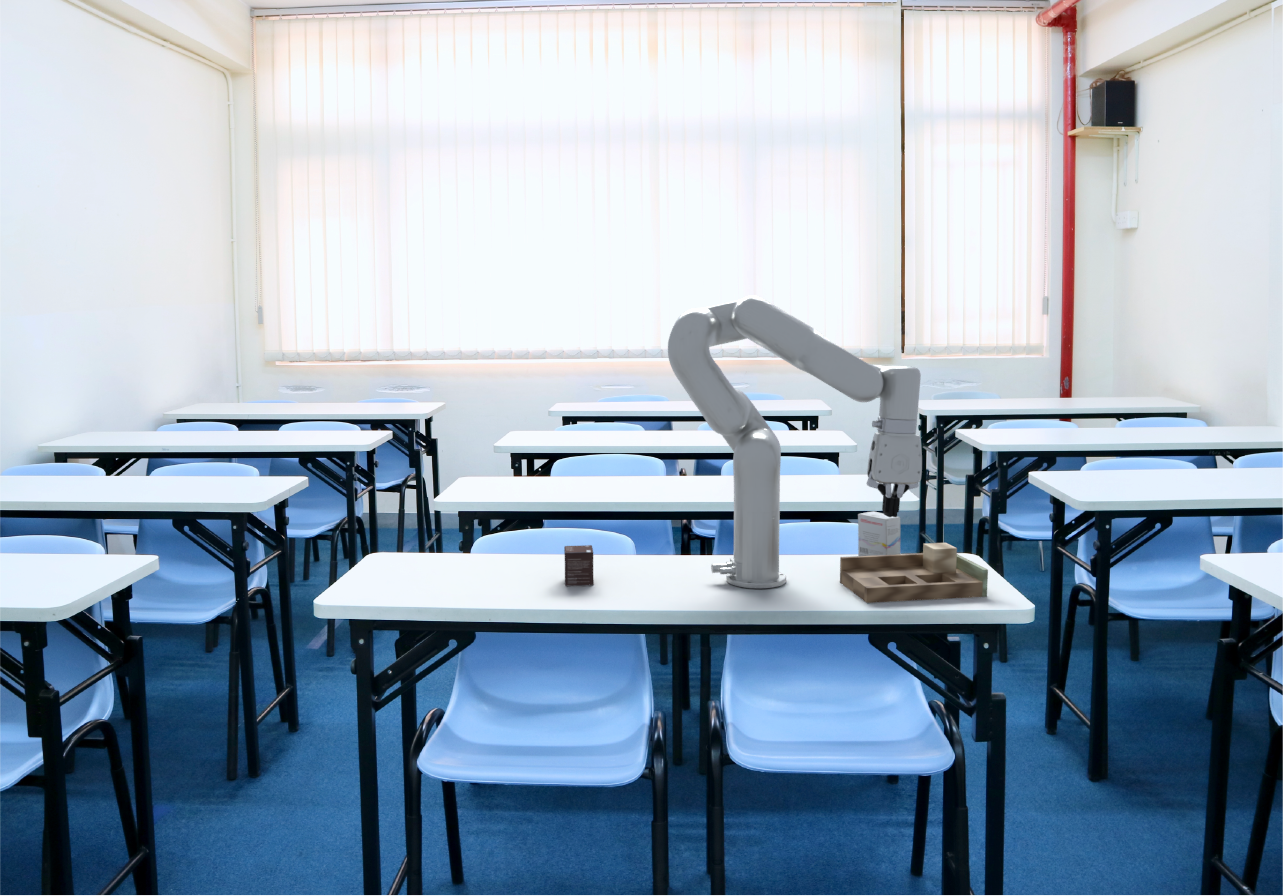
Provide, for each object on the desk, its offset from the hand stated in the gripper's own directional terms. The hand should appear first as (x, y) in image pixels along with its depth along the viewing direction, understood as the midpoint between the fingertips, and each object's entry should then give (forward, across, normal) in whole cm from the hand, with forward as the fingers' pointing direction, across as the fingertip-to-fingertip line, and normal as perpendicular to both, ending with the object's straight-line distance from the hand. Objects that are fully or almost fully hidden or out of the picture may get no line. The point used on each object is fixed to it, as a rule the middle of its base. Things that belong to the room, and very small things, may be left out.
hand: (890, 515), depth 199 cm
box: (+18, -62, +14) cm, 66 cm away
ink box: (+15, +5, +15) cm, 22 cm away
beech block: (+11, +12, 0) cm, 16 cm away
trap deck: (+15, +4, -4) cm, 15 cm away
